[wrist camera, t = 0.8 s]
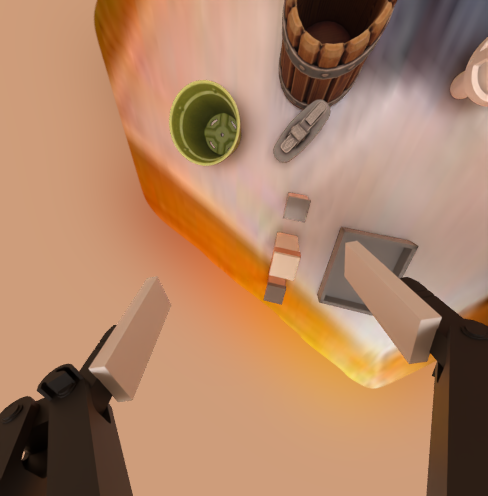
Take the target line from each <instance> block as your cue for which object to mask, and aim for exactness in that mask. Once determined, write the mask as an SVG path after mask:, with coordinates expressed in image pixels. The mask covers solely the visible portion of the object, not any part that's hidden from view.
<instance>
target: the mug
mask: <svg viewBox="0 0 488 496" xmlns="http://www.w3.org/2000/svg"><path fill="white" fill-rule="evenodd" d="M396 2H397V0H285V2H284V7H283V19H282V35H283V40H282V48H281V53H280V58H279V78H280V82H281V86H282V89H283V91H284V93H285V95H286V97H287V98H288V99H289V100H290V102H292V103H293V104H294V105H295V106H297V107H298V108H302V109H305V108H306V107H307V106H309V105H310V104H311V103H312V102H314V101H315V100H320V99H321V100H324V101H325V102H327V103H328V105H329V107H330V106H332V105H334V104H335V103H336V102H338V101H339V100H340V99H342V98H343V97H344V96H345V95H346V93H347V92H348V91H349V90H350V89H351V87H352V86H353V84H354V82H355V80H356V79H357V77H358V75H359V73H360V72H361V69H362V66H363V64H364V62H365V60H366V58H367V56H368V55H369V54H370V52H371V51H372V50H373V49H374V47H375V45H376V44H377V42H378V40H379V38H380V37H381V35H382V33H383V31H384V30H385V28H386V26H387V24H388V23H389V21H390V18H391V15H392V12H393V9H394V6H395V4H396Z"/></svg>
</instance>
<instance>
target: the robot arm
mask: <svg viewBox="0 0 488 496" xmlns="http://www.w3.org/2000/svg"><path fill="white" fill-rule="evenodd" d="M344 276H345V278H346V279H347V280H348V282H349V283H350V285H351V286H352V287H353V289H354V290H355V291H356V293H357V294H358V295H359V297H360V298H361V299H362V301H363V302H364V303H365V305H366V306H367V308H368V309H369V310H370V312H371V313H372V314H373V316H374V317H375V318H376V320H377V321H378V322H379V324H380V325H381V326H382V328H383V329H384V331H385V332H386V333H387V335H388V336H389V337H390V339H391V340H392V341H393V343H394V344H395V345H396V347H397V348H398V349H399V351H400V352H401V354H402V355H403V356H404V358H405V359H406V360H407V362H408V363H409V364H412V363H419V362H427V360H428V357H429V354H430V353H431V354H432V355H433V356H434V358H435V359H436V360H437V363H436V366H435V369H434V371H433V374H432V376H434V377H435V383H434V398H433V411H432V425H431V440H430V454H429V468H428V483H427V496H488V326H486V325H484V324H482V323H479V322H477V321H474V320H469V319H463V318H462V317H461V316H459V315H458V314H457V313H456V312H455V311H453V310H452V309H451V308H450V307H448V306H447V305H446V304H445V303H444V302H442V301H441V300H440V299H439V298H437V297H436V296H434V294H433V293H431V292H430V291H428V290H427V288H425V287H424V286H423V285H422V284H420V283H419V282H417V281H415V280H413V279H411V278H409V277H404V278H398V277H397V276H396V275H395V274H394V273H392V272H391V271H390V270H389V269H388V268H387V267H386V266H385V265H384V264H382V263H381V262H380V261H379V260H378V259H377V258H376V257H375V256H374V255H372V254H371V253H370V252H369V251H368V250H367V249H366V248H365V247H364V246H362V245H361V244H360V243H359V242H358V241H353V242H347V243H345V273H344ZM170 307H171V304H170V302H169V299H168V297H167V295H166V293H165V291H164V289H163V287H162V285H161V283H160V281H159V279H158V277H152V278H147V280H146V281H145V283H144V284H143V286H142V287H141V289H140V290H139V292H138V293H137V295H136V296H135V298H134V299H133V301H132V303H131V304H130V306H129V307H128V309H127V310H126V312H125V313H124V315H123V316H122V318H121V319H120V321H119V322H118V324H117V325H113V327H111V328H110V329H109V330H108V331H107V332H106V333H105V335H104V336H103V337H102V339H101V340H100V343H98V345H97V346H96V348H95V350H94V351H93V352H92V354H91V355H90V356H89V358H88V359H87V361H86V362H85V364H84V365H83V367H82V368H81V370H80V371H78V370H77V369H76V368H75V367H74V366H73V365H72V364H65V365H62V366H60V367H58V368H56V369H54V370H53V371H52V372H50V373H49V374H48V375H47V376H46V377H45V378H44V379H43V380H42V381H41V383H40V384H39V386H38V389H37V391H38V392H39V393H40V394H41V395H43V396H44V397H45V398H43V399H40V400H38V401H35V400H34V399H32V398H31V397H28V396H26V397H23V398H20V399H18V400H16V401H15V402H13V403H12V404H10V405H9V406H8V407H6V408H5V409H4V410H3V411H2V412H1V413H0V496H133V494H132V490H131V486H130V482H129V477H128V474H127V469H126V465H125V461H124V457H123V453H122V449H121V445H120V440H119V436H118V432H117V428H116V424H115V420H114V416H113V411H112V408H111V406H110V404H109V401H110V399H111V397H112V396H113V397H114V398H115V399H116V400H117V401H118V402H123V401H130V400H133V397H134V395H135V393H136V390H137V388H138V385H139V383H140V381H141V378H142V376H143V373H144V371H145V368H146V366H147V363H148V361H149V358H150V356H151V354H152V351H153V348H154V346H155V344H156V341H157V339H158V336H159V334H160V331H161V329H162V326H163V324H164V322H165V319H166V316H167V314H168V312H169V309H170ZM23 451H25V455H24V458H23V459H22V454H23ZM21 459H22V460H21Z"/></svg>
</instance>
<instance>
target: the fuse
mask: <svg viewBox="0 0 488 496" xmlns="http://www.w3.org/2000/svg"><path fill="white" fill-rule="evenodd" d="M300 258H301V254H300V252H299V245H298V238H297V236H294V235H290V234H285V233H280V232H277V237H276V241H275V245H274V250H273V255H272V260H271V264H270V269H269V275H271V276H275V277H280V278H284V279H288V280H292V281H294V278H295V275H296V271H297V268H298V265H299V261H300Z"/></svg>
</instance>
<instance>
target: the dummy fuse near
mask: <svg viewBox="0 0 488 496" xmlns="http://www.w3.org/2000/svg"><path fill="white" fill-rule="evenodd" d="M310 202H311V200H309V199H308V197H307V196H305V195H300V194H294V193H288V197H287V202H286V206H285V211H284V216H283V218H285V219H290V220H295V221H300V222H305V220H306V216H307V213H308V209H309V206H310Z"/></svg>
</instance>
